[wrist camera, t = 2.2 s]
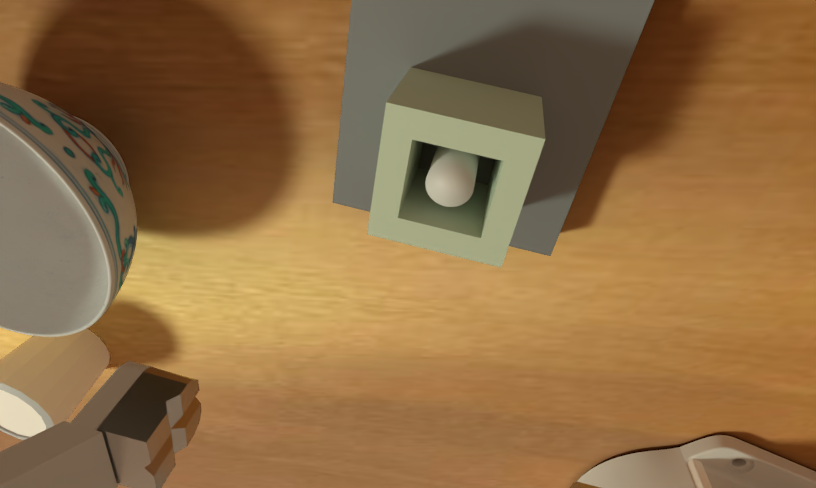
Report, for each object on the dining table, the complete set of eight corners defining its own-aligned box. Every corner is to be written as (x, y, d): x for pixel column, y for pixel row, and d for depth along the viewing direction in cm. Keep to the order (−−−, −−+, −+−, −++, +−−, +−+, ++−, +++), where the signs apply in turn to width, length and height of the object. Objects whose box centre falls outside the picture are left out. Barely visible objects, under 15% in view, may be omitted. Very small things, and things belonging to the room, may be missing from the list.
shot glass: (114, 331, 41) (47, 400, 35) (119, 384, 45) (60, 455, 39) (33, 303, 41) (-48, 368, 35) (45, 358, 45) (-26, 425, 39)
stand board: (772, -331, 16) (922, -473, 10) (549, 236, 29) (555, 326, 23) (404, -393, 17) (336, -561, 11) (343, 185, 30) (295, 260, 23)
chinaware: (227, 255, 34) (160, 335, 28) (51, 267, 38) (-43, 339, 32) (119, 15, 27) (-8, 50, 20) (-87, 60, 30) (-248, 101, 24)
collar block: (541, 97, 23) (545, 139, 19) (505, 210, 26) (501, 267, 22) (410, 67, 23) (386, 102, 19) (391, 183, 27) (366, 234, 22)
